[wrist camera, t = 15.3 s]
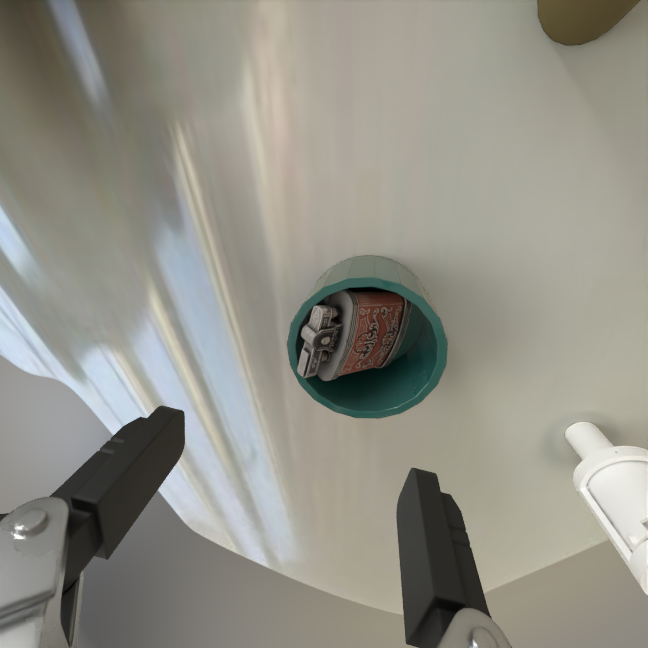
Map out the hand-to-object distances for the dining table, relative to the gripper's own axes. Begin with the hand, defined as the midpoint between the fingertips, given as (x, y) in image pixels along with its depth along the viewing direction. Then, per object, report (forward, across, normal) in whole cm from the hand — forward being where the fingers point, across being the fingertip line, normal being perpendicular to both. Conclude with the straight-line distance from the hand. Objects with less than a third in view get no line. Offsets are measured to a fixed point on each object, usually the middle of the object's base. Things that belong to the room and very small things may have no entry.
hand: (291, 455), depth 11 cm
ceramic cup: (+22, -3, +3) cm, 23 cm away
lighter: (+20, -6, +3) cm, 21 cm away
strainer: (+22, -28, +11) cm, 37 cm away
